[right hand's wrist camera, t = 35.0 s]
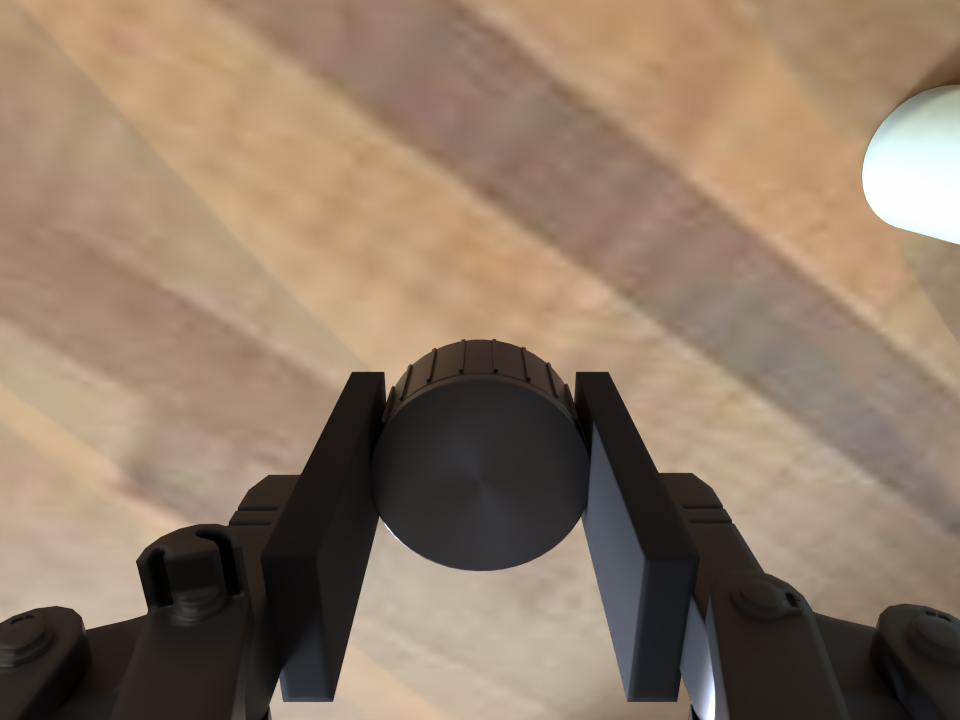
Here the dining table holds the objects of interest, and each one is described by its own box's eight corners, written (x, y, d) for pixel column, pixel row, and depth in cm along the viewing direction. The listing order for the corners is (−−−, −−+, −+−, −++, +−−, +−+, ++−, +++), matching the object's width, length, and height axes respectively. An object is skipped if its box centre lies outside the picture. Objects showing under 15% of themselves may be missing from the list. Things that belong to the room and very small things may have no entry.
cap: (429, 303, 14) (418, 338, 12) (613, 384, 14) (637, 432, 12) (355, 468, 15) (334, 527, 13) (524, 534, 16) (531, 601, 14)
